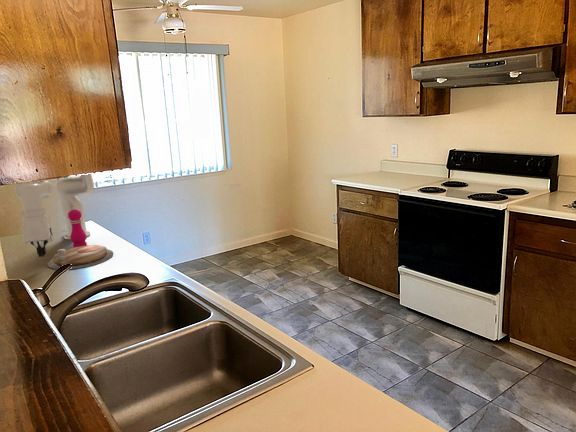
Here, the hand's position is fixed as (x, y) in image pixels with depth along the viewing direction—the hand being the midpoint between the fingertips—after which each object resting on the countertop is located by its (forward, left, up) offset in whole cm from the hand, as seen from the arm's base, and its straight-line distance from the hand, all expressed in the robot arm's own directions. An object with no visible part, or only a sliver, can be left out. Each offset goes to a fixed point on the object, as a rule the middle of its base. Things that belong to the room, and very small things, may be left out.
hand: (42, 255), depth 195 cm
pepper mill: (-10, +29, -6) cm, 31 cm away
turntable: (+6, +14, -6) cm, 16 cm away
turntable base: (+6, +14, -6) cm, 16 cm away
